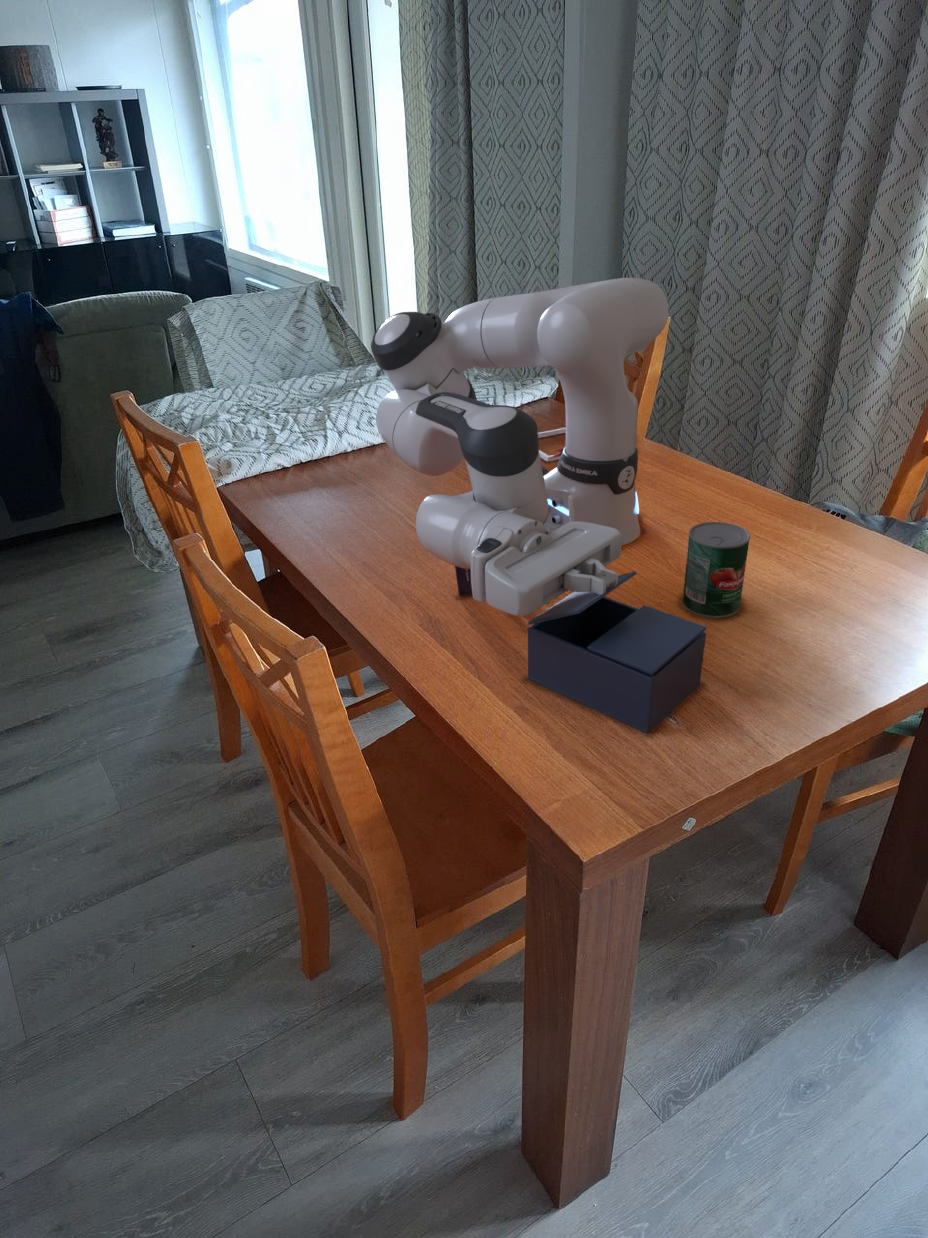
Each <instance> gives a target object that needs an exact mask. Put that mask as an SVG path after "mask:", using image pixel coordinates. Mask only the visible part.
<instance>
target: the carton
mask: <svg viewBox="0 0 928 1238" xmlns="http://www.w3.org/2000/svg"><path fill="white" fill-rule="evenodd" d="M706 630H707V626H705V625H702V624H699V623H696V622H694V621H692V620H688V619H686V618H683V617H680V616H676V615H674V614H671V613H668V612H665V611H663V610H659V609H657V608H655V607H651V606H648V605H646V604H643V605H642V606H640V607H639V608H638V607H635V606H633V605H629V604H627V603H625V602H624V603H623V602H622V601H618V600H615V599H613V598H610V597H607V596H604V597H603V598H601V599H600V600H598V601H597V602H595V603H594V604H592V605H591V606H589V607H588V608H587V609H585V610H584V611H582V612H581V613H579V614H574V615H570V616H566V617H561V618H557V619H553V620H548V621H544V622H540V623H535V624H531V625H530V626H529V627H527V680H528V681H531V682H533V683H534V684H537V685H539V686H541V687H544V688H546V689H548V690H550V691H553V692H555V693H557V694H559V695H560V696H563V697H566V698H568V699H570V700H572V701H575V702H577V703H579V704H581V705H582V706H586V707H587V708H589V709H592V710H594V711H596V712H598V713H601V714H603V715H605V716H608V717H610V718H611V719H614V720H616V721H618V722H620V723H623V724H624V725H626V726H629V727H631V728H634V729H636V730H637V731H640V732H642V733H645V734H649V733H650V732H651V731H652V730H653V729H654V728H655V727H656V726H657V725H658V724H660V723H661V722H662V721H663V720H664V719H665V718H666V717H668V715H669V714H670V713H671V712H673V711H674V710H675V709H676V708H677V707H678V706H679V705H680V704H682V702H684V701H685V700H686V699H687V698H688V697H689V696H690V695H691V694H692V693H693V692H694V691H695V690H697V688H699V687H700V685H701V678H702V671H703V663H704V655H705V648H706V647H705V646H706V638H707V632H706Z"/></svg>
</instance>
